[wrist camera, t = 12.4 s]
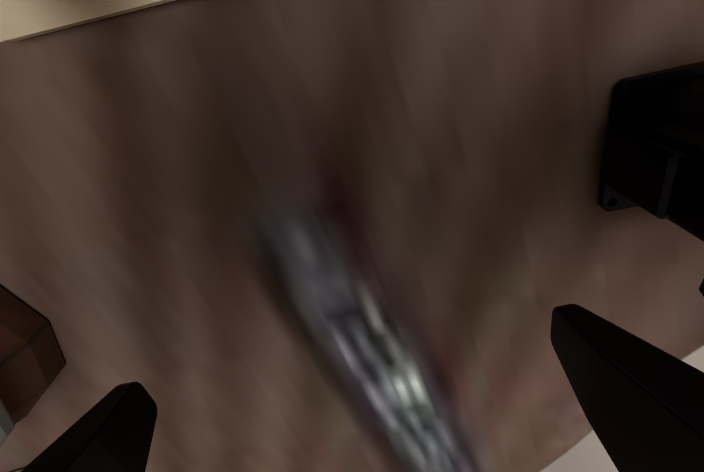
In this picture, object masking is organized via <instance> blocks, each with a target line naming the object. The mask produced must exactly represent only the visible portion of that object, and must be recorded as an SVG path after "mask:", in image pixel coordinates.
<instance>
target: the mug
mask: <svg viewBox="0 0 704 472" xmlns="http://www.w3.org/2000/svg"><path fill="white" fill-rule="evenodd" d="M64 365H65V362H64V360H63V357H62V355H61V352H60V350H59V347H58V345H57V342H56V340H55V337H54V335H53V332H52V330H51V327H50V325H49V322H48V321H47V320H46V319H44V318H43V317H41V316H40V315H39V314H37V313H36V312H34V311H33V310H32V309H30V308H29V307H28V306H26V305H25V304H23V303H22V302H21V301H19V300H18V299H17V298H15V297H14V296H12V295H11V294H10V293H8V292H7V291H6V290H4V289H3V288H1V287H0V446H1V445H2V443H3V442H4V441H5V439H6V438H7V437H8V435H9V434H10V433H11V431H12V430H13V428H14V427H15V424H16V423H17V422H19V421H20V420H21V419H23V418H24V417H25V416H27V414H28V413H29V412H30V410H31V409H32V408H33V406H34V405H35V404H36V402H37V401H38V400H39V398H40V397H41V396H42V395H43V393H44V392H45V391H46V389H47V388H48V387H49V385H50V384H51V383H52V381H53V380H54V379H55V377H56V376H57V375H58V373H59V372H60V371H61V369H62V368H63V367H64Z"/></svg>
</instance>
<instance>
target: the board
mask: <svg viewBox="0 0 704 472" xmlns="http://www.w3.org/2000/svg"><path fill="white" fill-rule="evenodd" d="M172 1H176V0H0V42H7V41H19V40H23V39H27V38H31V37H35V36H38V35H42V34H46V33H50V32H54V31H58V30H62V29H66V28H70V27H74V26H78V25H82V24H85V23H89V22H93V21H97V20H101V19H105V18H109V17H113V16H117V15H121V14H125V13H129V12H133V11H136V10H140V9H144V8H148V7H152V6H156V5H160V4H164V3H168V2H172Z"/></svg>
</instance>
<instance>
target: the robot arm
mask: <svg viewBox="0 0 704 472" xmlns="http://www.w3.org/2000/svg"><path fill="white" fill-rule="evenodd" d="M629 86H630V90H629V92H628V93H627V94H626V95H625V96H624V92H625V90H626V89H627V87H629ZM599 180H600V188H599V196H598V205H599V206H600V207H601V208H602V209H604V210H606V211H614V210H619V209H624V208H630V207H635V206H639V207H641V208H643V209H644V210H646V211H647V212H649V213H650V214H652V215H654V216H655V217H657V218H659V219H665V218H666V219H668V220H670V221H671V222H673V223H675V224H676V225H678V226H679V227H681V228H683V229H684V230H686V231H687V232H689V233H691V234H692V235H694V236H696V237H697V238H699V239H700V240H702V241H704V62H699V63H695V64H690V65H685V66H681V67H676V68H672V69H667V70H662V71H658V72H653V73H649V74H644V75H640V76H635V77H630V78H626V79H623V80H621V81H620V82H619V83H617V85H616V86H615V88H614V90H613V94H612V101H611V108H610V115H609V123H608V130H607V132H606V133H605V139H604V147H603V154H602V162H601V169H600V177H599ZM612 198H613V199H612ZM610 199H612V201H611V202H610V203H608V201H609V200H610ZM699 290H700V292H701V293H702V295H703V296H704V279H703V281H702V283H701V285H700V287H699ZM551 342H552V345H553V348H554V350H555V352H556V354H557V356H558V358H559V360H560V363H561V365H562V367H563V369H564V371H565V373H566V375H567V378H568V380H569V382H570V384H571V386H572V388H573V390H574V392H575V395H576V397H577V399H578V401H579V403H580V405H581V407H582V409H583V411H584V413H585V415H586V417H587V419H588V421H589V423H590V424H591V426H592V428H593V430H594V431H595V433H596V435H597V436H598V438H599V439H600V441H601V443H602V445H603V446H604V448H605V449H606V451H607V453H608V455H609V456H610V458H611V460H612V461H613V463H614V464H615V466H616V468H617V469H618V471H619V472H704V373H703V372H702V371H700V370H698V369H696V368H694V367H692V366H690V365H688V364H687V363H685V362H683V361H681V360H679V359H677V358H676V357H674V356H672V355H670V354H668V353H666V352H664V351H663V350H661V349H659V348H657V347H655V346H653V345H651V344H650V343H648V342H646V341H644V340H642V339H640V338H639V337H637V336H635V335H633V334H631V333H629V332H627V331H626V330H624V329H622V328H620V327H618V326H616V325H614V324H613V323H611V322H609V321H607V320H605V319H603V318H601V317H600V316H598V315H596V314H594V313H592V312H590V311H589V310H587V309H585V308H583V307H581V306H579V305H576V304H568V305H563V306H557V307H555V308H554V309H553V312H552V322H551ZM156 418H157V406H156V403H155V402H154V400H153V399H152V398H151V396H150V395H149V394H148V392H147V391H146V390H145V388H144V387H143V386H142V385H141V384H140V383H138V382H131V383H125V384H120V385H118V386H116V387H115V388H114V389H113V390H112V391H110V392H109V393H108V394H107V395H106V396H105V397H104V398H103V399H102V400H100V401H99V402H98V403H97V404H96V405H95V406H94V407H93V408H91V409H90V410H89V411H88V412H87V413H86V414H85V415H84V416H82V417H81V418H80V419H79V420H78V421H77V422H76V423H75V424H73V425H72V426H71V427H70V428H69V429H68V430H67V431H66V432H64V433H63V434H62V435H61V436H60V437H59V438H58V439H57V440H56V441H54V442H53V443H52V444H51V445H50V446H49V447H48V448H47V449H45V450H44V451H43V452H42V453H41V454H40V455H39V456H38V457H36V458H35V459H34V460H33V461H32V462H31V463H30V464H29V465H27V466H26V467H25V468H24V469H23V470H22V471H21V472H145V470H146V465H147V460H148V456H149V451H150V446H151V441H152V437H153V432H154V427H155V423H156Z"/></svg>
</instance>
